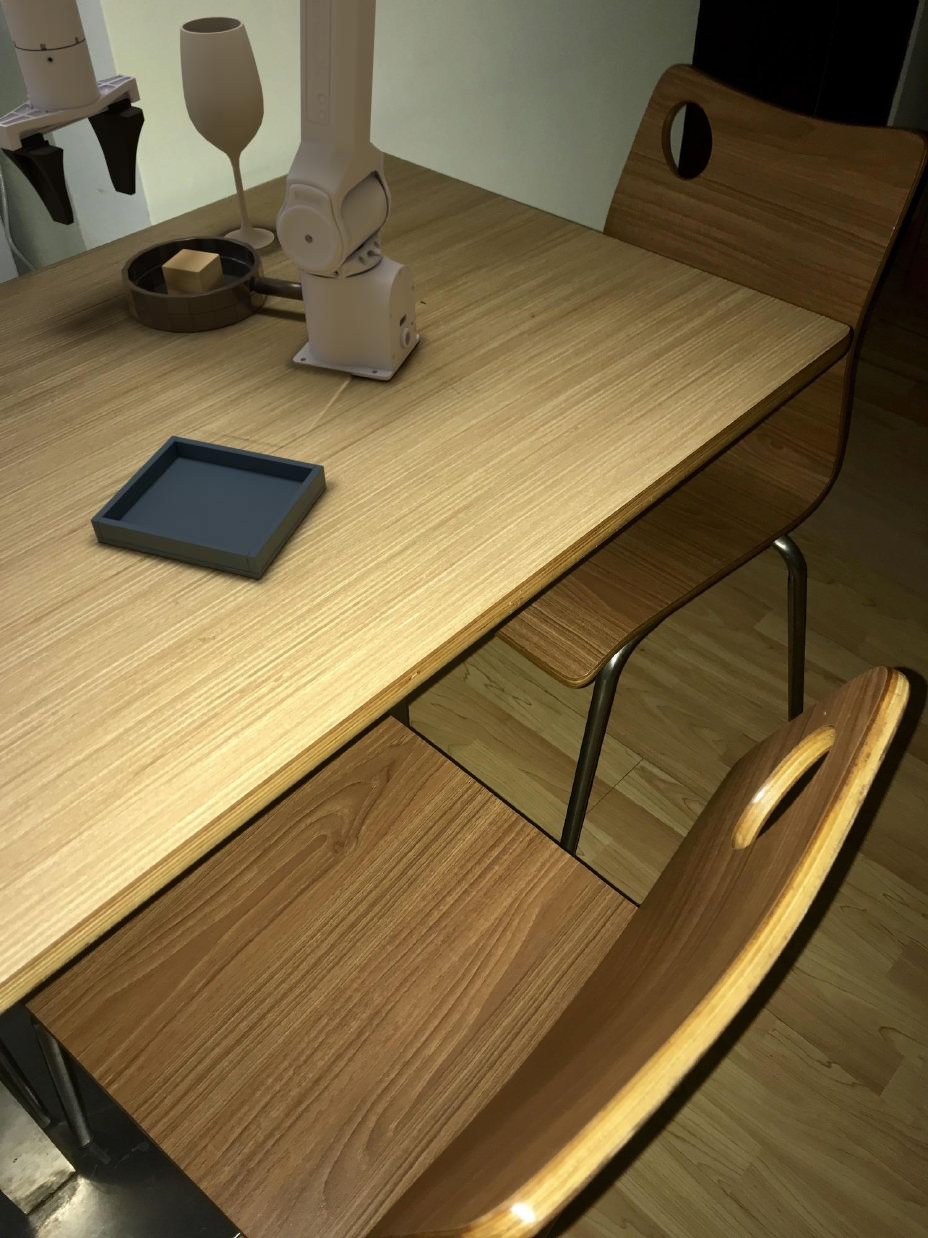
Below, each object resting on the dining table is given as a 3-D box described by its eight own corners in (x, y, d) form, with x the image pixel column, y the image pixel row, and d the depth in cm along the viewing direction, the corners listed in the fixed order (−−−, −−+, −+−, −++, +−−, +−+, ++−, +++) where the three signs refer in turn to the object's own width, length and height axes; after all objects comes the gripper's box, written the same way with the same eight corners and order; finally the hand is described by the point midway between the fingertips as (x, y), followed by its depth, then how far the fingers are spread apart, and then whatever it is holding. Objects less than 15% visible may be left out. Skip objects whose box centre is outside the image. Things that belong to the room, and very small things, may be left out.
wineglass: (298, 237, 109) (269, 20, 94) (252, 264, 104) (213, 40, 90) (245, 222, 112) (209, 9, 97) (198, 248, 107) (153, 28, 93)
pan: (289, 283, 101) (284, 245, 98) (226, 346, 92) (218, 305, 89) (176, 266, 104) (168, 228, 101) (105, 325, 95) (93, 285, 93)
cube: (226, 292, 99) (219, 253, 96) (206, 311, 96) (198, 271, 93) (191, 287, 100) (183, 248, 97) (170, 305, 97) (161, 265, 94)
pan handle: (333, 299, 94) (331, 283, 93) (326, 307, 93) (324, 291, 92) (257, 288, 96) (255, 272, 95) (250, 295, 95) (247, 279, 94)
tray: (326, 486, 77) (323, 465, 75) (259, 579, 69) (254, 557, 68) (177, 455, 80) (172, 434, 78) (97, 541, 72) (89, 519, 71)
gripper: (82, 13, 88) (122, 172, 97) (-56, 56, 79) (2, 226, 88) (140, 24, 85) (175, 185, 94) (3, 69, 76) (57, 243, 86)
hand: (95, 206), depth 91 cm, fingers open, 7 cm apart
